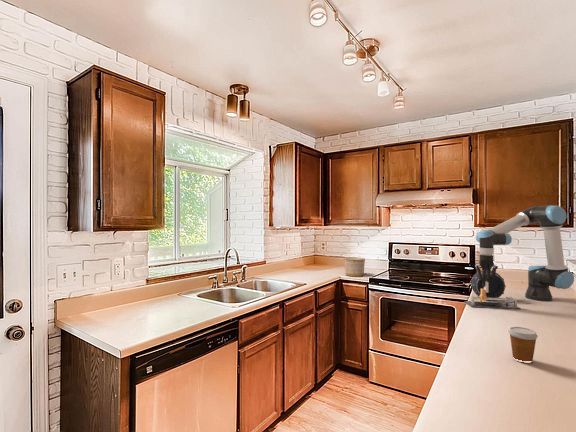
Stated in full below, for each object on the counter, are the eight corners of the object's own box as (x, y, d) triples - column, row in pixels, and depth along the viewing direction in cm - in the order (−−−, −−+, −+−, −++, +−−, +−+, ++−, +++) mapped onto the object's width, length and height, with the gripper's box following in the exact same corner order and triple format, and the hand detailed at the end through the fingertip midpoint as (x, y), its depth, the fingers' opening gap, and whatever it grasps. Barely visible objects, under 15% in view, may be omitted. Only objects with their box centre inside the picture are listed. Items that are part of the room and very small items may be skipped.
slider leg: (482, 303, 214) (483, 287, 214) (486, 305, 208) (486, 289, 208) (477, 303, 214) (477, 287, 214) (481, 305, 209) (481, 289, 209)
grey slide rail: (513, 306, 211) (513, 296, 211) (517, 308, 206) (517, 298, 206) (469, 304, 215) (469, 294, 215) (472, 307, 210) (472, 296, 210)
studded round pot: (507, 302, 222) (507, 272, 222) (474, 300, 226) (474, 271, 226) (500, 298, 233) (500, 269, 233) (469, 296, 237) (469, 268, 237)
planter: (352, 272, 332) (352, 256, 332) (368, 275, 318) (368, 258, 318) (340, 275, 319) (340, 258, 319) (356, 278, 305) (356, 260, 305)
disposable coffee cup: (502, 355, 137) (502, 326, 137) (524, 355, 138) (524, 326, 138) (520, 366, 128) (520, 335, 128) (543, 365, 128) (544, 334, 128)
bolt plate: (510, 304, 217) (510, 302, 217) (520, 309, 205) (520, 307, 205) (464, 302, 221) (464, 300, 221) (471, 307, 209) (471, 305, 209)
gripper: (494, 254, 213) (494, 291, 213) (472, 253, 215) (472, 290, 215) (500, 255, 205) (500, 293, 205) (477, 255, 207) (477, 292, 207)
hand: (486, 291), depth 210 cm, fingers closed
